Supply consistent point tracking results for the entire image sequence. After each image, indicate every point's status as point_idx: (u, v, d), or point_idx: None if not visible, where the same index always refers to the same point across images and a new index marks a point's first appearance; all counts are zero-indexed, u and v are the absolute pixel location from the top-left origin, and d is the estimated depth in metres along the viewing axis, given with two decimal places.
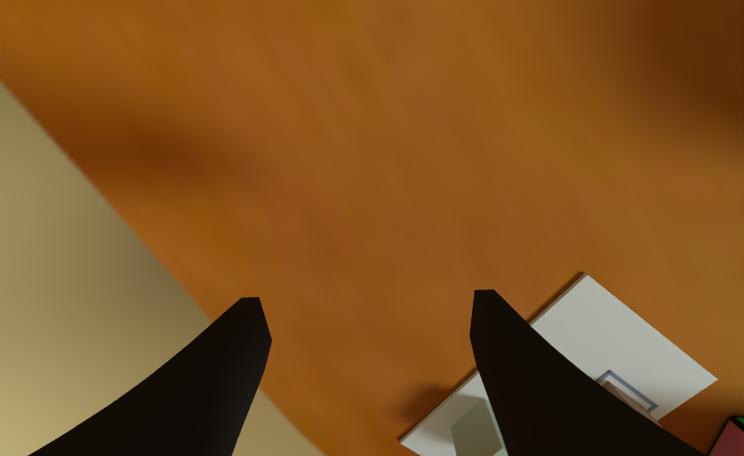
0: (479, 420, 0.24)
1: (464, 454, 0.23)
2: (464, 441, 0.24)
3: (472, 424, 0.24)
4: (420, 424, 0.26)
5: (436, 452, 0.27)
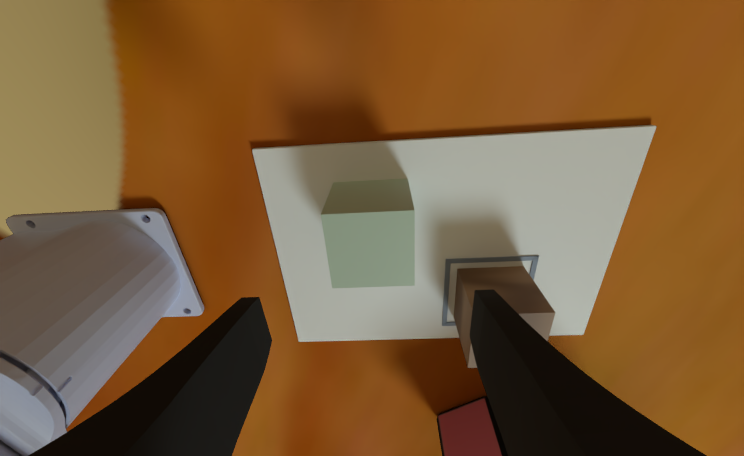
0: (389, 188, 0.16)
1: (342, 201, 0.15)
2: (349, 194, 0.15)
3: (372, 188, 0.16)
4: (302, 146, 0.16)
5: (284, 201, 0.18)
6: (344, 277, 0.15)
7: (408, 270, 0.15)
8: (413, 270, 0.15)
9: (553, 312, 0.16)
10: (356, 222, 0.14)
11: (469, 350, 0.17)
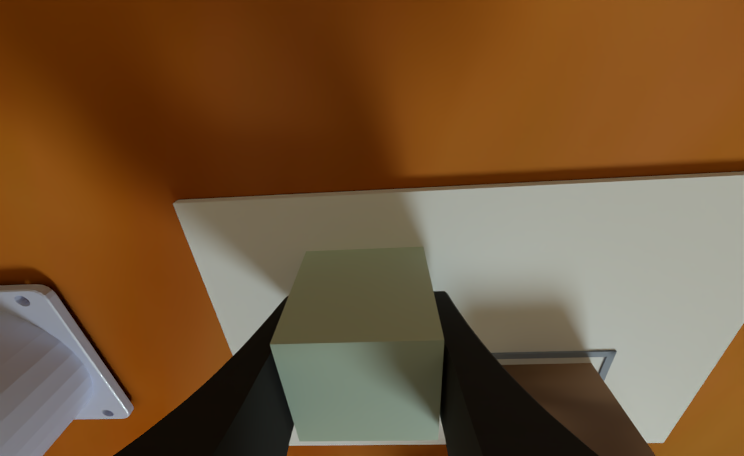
0: (394, 269, 0.10)
1: (313, 303, 0.08)
2: (328, 283, 0.09)
3: (368, 269, 0.10)
4: (254, 198, 0.10)
5: (232, 277, 0.11)
6: (319, 428, 0.09)
7: (428, 421, 0.09)
8: (437, 421, 0.09)
9: None
10: (336, 357, 0.07)
11: None
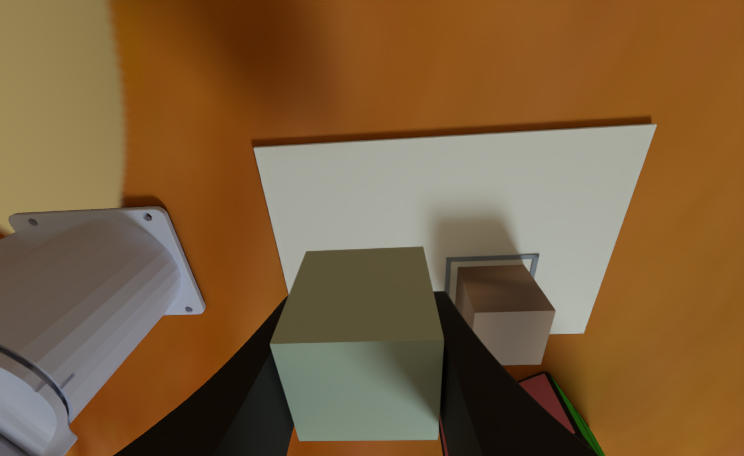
0: (394, 269, 0.10)
1: (313, 302, 0.08)
2: (328, 283, 0.09)
3: (368, 268, 0.10)
4: (303, 144, 0.16)
5: (285, 200, 0.18)
6: (318, 428, 0.09)
7: (427, 421, 0.09)
8: (437, 421, 0.09)
9: (553, 310, 0.16)
10: (336, 356, 0.07)
11: None
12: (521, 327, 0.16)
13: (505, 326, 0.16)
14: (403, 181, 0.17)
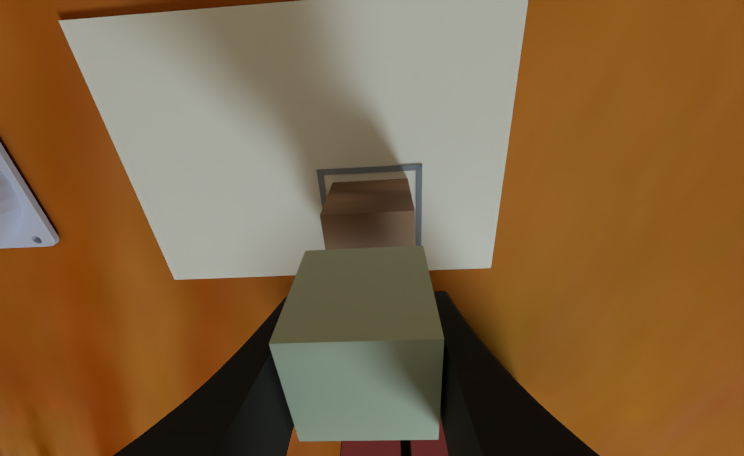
0: (393, 268, 0.09)
1: (313, 302, 0.08)
2: (328, 282, 0.09)
3: (367, 267, 0.10)
4: (118, 16, 0.14)
5: (114, 93, 0.15)
6: (318, 428, 0.09)
7: (427, 420, 0.08)
8: (437, 421, 0.08)
9: (412, 210, 0.13)
10: (336, 356, 0.07)
11: None
12: (379, 234, 0.14)
13: (360, 234, 0.14)
14: (246, 66, 0.14)
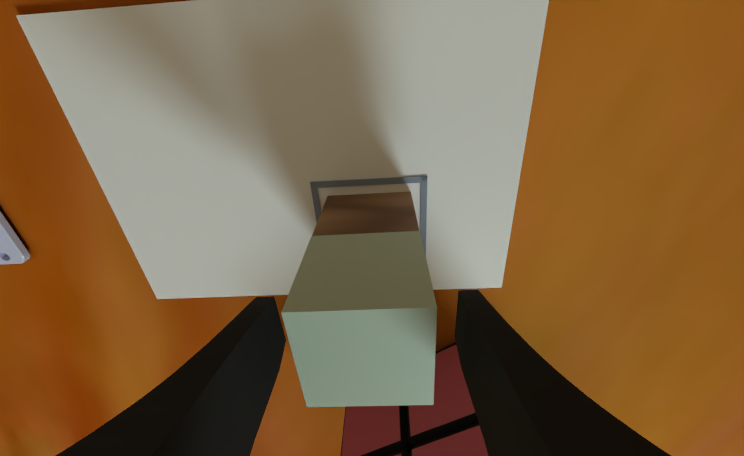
0: (392, 251, 0.10)
1: (319, 278, 0.09)
2: (333, 262, 0.10)
3: (368, 250, 0.11)
4: (83, 10, 0.12)
5: (82, 97, 0.13)
6: (324, 394, 0.10)
7: (423, 386, 0.09)
8: (432, 386, 0.09)
9: None
10: (341, 324, 0.08)
11: None
12: None
13: None
14: (229, 67, 0.13)
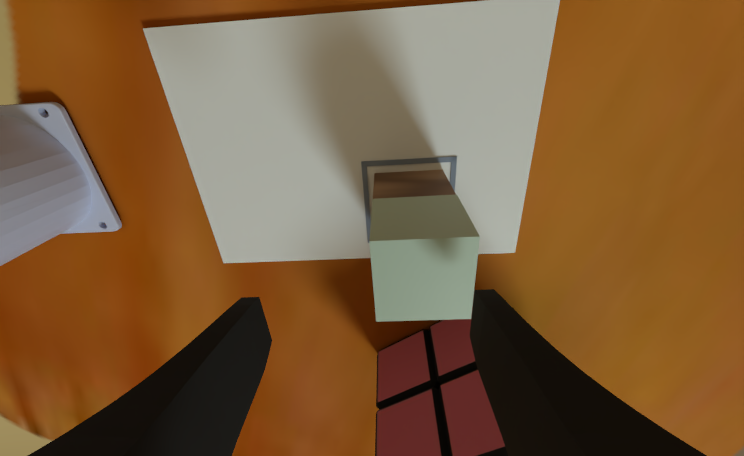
0: (439, 206, 0.14)
1: (389, 223, 0.13)
2: (396, 214, 0.13)
3: (420, 206, 0.14)
4: (195, 24, 0.15)
5: (185, 92, 0.17)
6: (391, 310, 0.13)
7: (465, 302, 0.13)
8: (471, 302, 0.13)
9: None
10: (410, 250, 0.12)
11: None
12: None
13: None
14: (304, 68, 0.16)
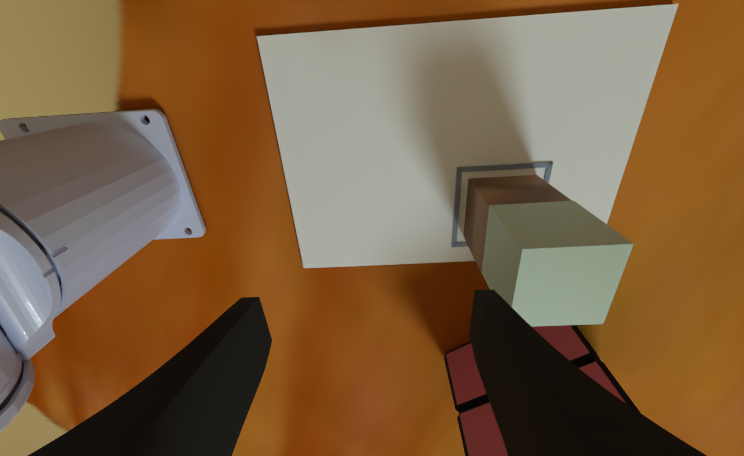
0: (566, 213, 0.14)
1: (528, 230, 0.13)
2: (527, 221, 0.14)
3: (546, 213, 0.14)
4: (309, 32, 0.15)
5: (290, 99, 0.17)
6: (526, 315, 0.13)
7: (601, 308, 0.13)
8: (608, 308, 0.13)
9: None
10: (561, 257, 0.12)
11: (482, 251, 0.17)
12: None
13: None
14: (414, 75, 0.16)
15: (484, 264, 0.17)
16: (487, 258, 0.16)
